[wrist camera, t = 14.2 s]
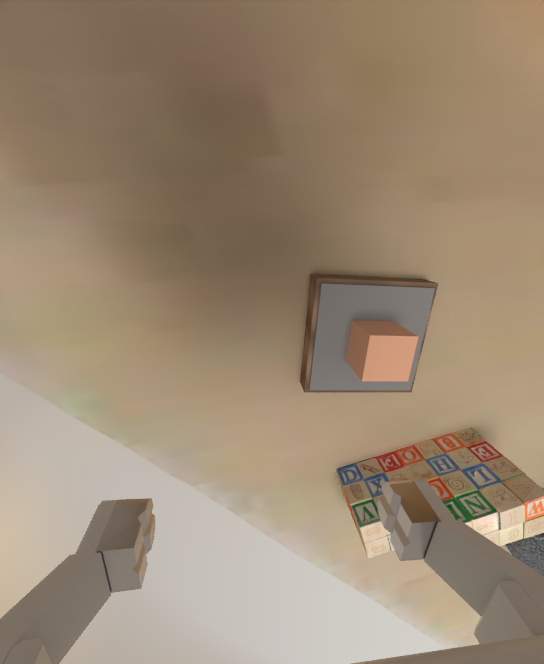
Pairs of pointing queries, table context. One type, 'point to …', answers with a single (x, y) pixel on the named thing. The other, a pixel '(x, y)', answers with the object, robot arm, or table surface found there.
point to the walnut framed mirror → (359, 304)
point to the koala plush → (530, 551)
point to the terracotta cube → (380, 350)
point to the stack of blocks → (449, 489)
